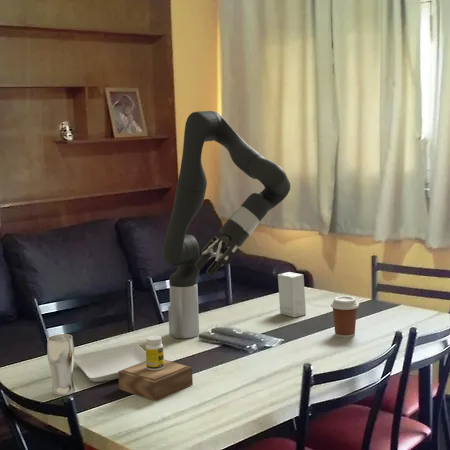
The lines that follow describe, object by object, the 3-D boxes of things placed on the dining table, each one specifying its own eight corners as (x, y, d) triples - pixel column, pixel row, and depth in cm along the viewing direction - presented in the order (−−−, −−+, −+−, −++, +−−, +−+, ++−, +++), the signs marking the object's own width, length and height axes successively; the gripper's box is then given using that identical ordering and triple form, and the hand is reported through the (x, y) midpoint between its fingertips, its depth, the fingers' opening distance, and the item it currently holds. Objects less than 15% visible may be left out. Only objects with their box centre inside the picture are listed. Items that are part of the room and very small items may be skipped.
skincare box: (306, 315, 263) (305, 274, 261) (293, 318, 260) (292, 277, 257) (291, 310, 270) (290, 270, 268) (278, 313, 267) (277, 273, 264)
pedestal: (119, 389, 198) (118, 370, 197) (156, 374, 208) (155, 356, 207) (155, 401, 189) (154, 381, 188) (192, 384, 199) (191, 366, 198)
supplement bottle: (161, 371, 195) (159, 340, 194) (144, 370, 196) (142, 340, 195) (166, 365, 200) (164, 335, 198) (149, 364, 201) (148, 334, 199)
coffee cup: (327, 337, 237) (327, 301, 235) (334, 329, 245) (334, 294, 243) (355, 339, 233) (355, 303, 232) (361, 331, 242) (361, 296, 240)
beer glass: (52, 387, 200) (48, 334, 198) (78, 386, 201) (74, 333, 199) (48, 397, 194) (44, 342, 191) (75, 395, 194) (71, 340, 192)
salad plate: (90, 389, 200) (90, 377, 199) (69, 366, 218) (68, 355, 218) (163, 374, 209) (162, 362, 209) (136, 353, 228) (135, 343, 227)
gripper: (220, 214, 211) (184, 257, 208) (241, 221, 198) (203, 267, 196) (237, 231, 214) (202, 273, 211) (259, 239, 201) (222, 284, 199)
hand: (202, 270), depth 204 cm, fingers open, 8 cm apart
